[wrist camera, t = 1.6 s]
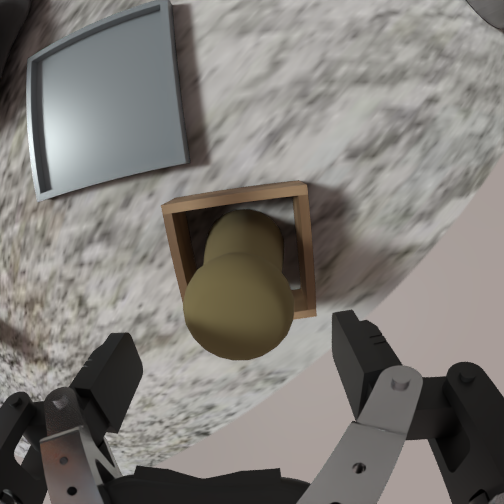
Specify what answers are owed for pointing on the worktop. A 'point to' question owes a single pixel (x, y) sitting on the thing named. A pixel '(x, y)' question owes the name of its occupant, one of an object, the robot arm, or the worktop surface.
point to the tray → (106, 102)
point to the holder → (296, 189)
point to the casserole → (10, 25)
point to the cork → (240, 288)
